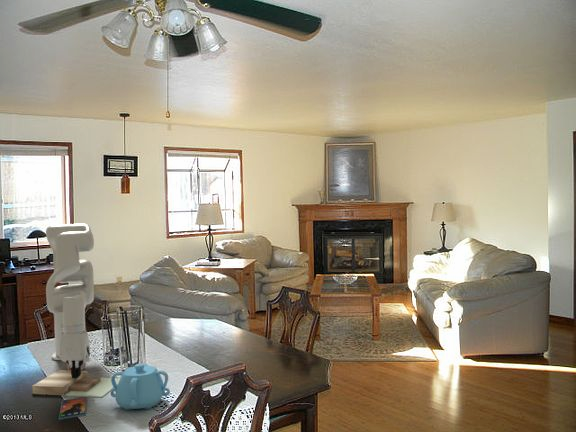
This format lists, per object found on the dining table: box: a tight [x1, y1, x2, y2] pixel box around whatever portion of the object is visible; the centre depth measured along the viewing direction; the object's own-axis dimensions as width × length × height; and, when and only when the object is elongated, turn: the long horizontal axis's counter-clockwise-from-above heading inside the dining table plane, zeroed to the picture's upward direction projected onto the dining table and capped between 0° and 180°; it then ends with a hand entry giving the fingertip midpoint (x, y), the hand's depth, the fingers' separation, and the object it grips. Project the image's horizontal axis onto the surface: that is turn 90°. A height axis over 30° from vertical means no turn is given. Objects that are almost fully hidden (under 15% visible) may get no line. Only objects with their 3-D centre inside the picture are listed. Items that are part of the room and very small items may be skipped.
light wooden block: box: [32, 369, 88, 396], centre depth 189 cm, size 16×12×3 cm
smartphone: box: [58, 397, 88, 421], centre depth 169 cm, size 8×1×15 cm
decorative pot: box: [110, 363, 171, 411], centre depth 172 cm, size 16×16×14 cm
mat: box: [64, 377, 120, 398], centre depth 187 cm, size 17×14×1 cm
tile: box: [69, 376, 101, 392], centre depth 188 cm, size 10×7×2 cm
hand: (76, 377), depth 188 cm, fingers closed
